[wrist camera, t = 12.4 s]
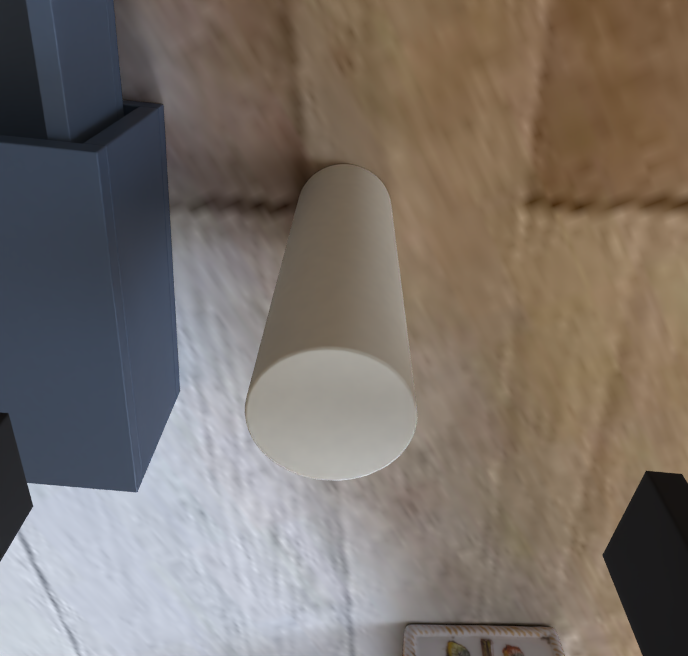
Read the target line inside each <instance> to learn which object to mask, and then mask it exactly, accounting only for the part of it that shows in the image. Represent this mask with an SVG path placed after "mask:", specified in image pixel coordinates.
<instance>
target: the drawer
mask: <svg viewBox="0 0 688 656" xmlns="http://www.w3.org/2000/svg"><path fill="white" fill-rule="evenodd" d="M123 117H124V111H123V100H122V89H121V78H120V67H119V56H118V46H117V35H116V24H115V13H114V2H113V0H0V135H6V136H15V137H25V138H34V139H44V140H53V141H63V142H72V143H82V144H83V143H84V142H86V141H87V140H89V139H91V138H92V137H94V136H95V135H97V134H98V133H100V132H101V131H103V130H104V129H106V128H107V127H109V126H110V125H112V124H114V123H115V122H117V121H118V120H120V119H121V118H123Z"/></svg>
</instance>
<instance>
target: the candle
mask: <svg viewBox="0 0 688 656" xmlns="http://www.w3.org/2000/svg"><path fill="white" fill-rule="evenodd" d="M417 415H418V412H417V403H416V396H415V388H414V380H413V372H412V364H411V356H410V348H409V340H408V333H407V325H406V317H405V309H404V301H403V293H402V285H401V277H400V269H399V262H398V254H397V246H396V238H395V230H394V222H393V214H392V206H391V200H390V196H389V194H388V191H387V189H386V187H385V186H384V184H383V183H382V182H381V180H380V179H379V178H378V177H377V176H376V175H374V174H373V173H372V172H370V171H368V170H366V169H364V168H362V167H359V166H356V165H350V164H338V165H333V166H329V167H326V168H324V169H322V170H320V171H318V172H317V173H315V174H314V175H313V176H312V177H311V178H310V179H309V180H308V181H307V182H306V184H305V185H304V187H303V189H302V191H301V193H300V196H299V199H298V203H297V207H296V211H295V214H294V218H293V222H292V226H291V230H290V233H289V237H288V241H287V245H286V249H285V253H284V256H283V260H282V264H281V268H280V272H279V275H278V279H277V283H276V287H275V291H274V294H273V298H272V302H271V306H270V310H269V314H268V317H267V321H266V325H265V329H264V333H263V336H262V340H261V344H260V348H259V352H258V356H257V359H256V363H255V367H254V371H253V375H252V378H251V382H250V386H249V390H248V394H247V398H246V403H245V418H246V423H247V426H248V430H249V432H250V434H251V436H252V438H253V440H254V442H255V443H256V445H257V446H258V448H259V449H260V450H261V451H262V452H263V453H264V454H265V455H266V456H267V457H268V458H269V459H270V460H272V461H273V462H275V463H276V464H278V465H279V466H281V467H283V468H284V469H286V470H288V471H290V472H293V473H295V474H298V475H301V476H305V477H308V478H313V479H319V480H349V479H354V478H359V477H363V476H366V475H369V474H372V473H374V472H376V471H379V470H380V469H382V468H384V467H386V466H387V465H389V464H390V463H392V462H393V461H394V460H395V459H396V458H398V457H399V456H400V455H401V454H402V452H403V451H404V450H405V449H406V448H407V446H408V444H409V443H410V441H411V439H412V437H413V435H414V432H415V429H416V425H417Z"/></svg>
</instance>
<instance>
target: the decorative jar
mask: <svg viewBox="0 0 688 656" xmlns="http://www.w3.org/2000/svg"><path fill="white" fill-rule="evenodd" d="M402 656H565V654H564V651H563V648H562V645H561V642H560V639H559V636H558V634H557V632H556V630H555V629H554V628H553V627H527V626H489V625H416V624H414V625H407V626H406V628H405V631H404V640H403V654H402Z"/></svg>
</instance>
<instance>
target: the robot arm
mask: <svg viewBox="0 0 688 656" xmlns="http://www.w3.org/2000/svg"><path fill="white" fill-rule="evenodd" d="M32 507H33V504H32V500H31V496H30V493H29V489H28V485H27V481H26V478H25V474H24V470H23V466H22V462H21V459H20V455H19V451H18V447H17V443H16V440H15V436H14V432H13V428H12V424H11V421H10V417H9V413H2V412H0V561H1V560H2V558H3V556H4V554H5V553H6V551H7V549H8V548H9V546H10V544H11V543H12V541H13V539H14V538H15V536H16V534H17V533H18V531H19V529H20V528H21V526H22V524H23V522H24V521H25V519H26V517H27V516H28V514H29V512H30V511H31V509H32ZM603 558H604V560H605V563H606V565H607V568H608V570H609V573H610V575H611V578H612V580H613V583H614V585H615V588H616V590H617V593H618V595H619V598H620V600H621V603H622V605H623V608H624V610H625V613H626V615H627V618H628V620H629V623H630V625H631V628H632V630H633V633H634V635H635V638H636V640H637V643H638V645H639V648H640V650H641V653H642V655H643V656H688V483H687V481H686V480H685V478H684V477H683V475H682V474H675V473H664V472H653V471H646V472H645V474H644V476H643V478H642V480H641V482H640V484H639V486H638V487H637V489H636V491H635V493H634V495H633V497H632V499H631V501H630V503H629V505H628V507H627V509H626V511H625V513H624V515H623V517H622V518H621V520H620V522H619V524H618V526H617V528H616V530H615V532H614V534H613V536H612V538H611V540H610V542H609V544H608V546H607V548H606V549H605V551H604V553H603Z"/></svg>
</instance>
